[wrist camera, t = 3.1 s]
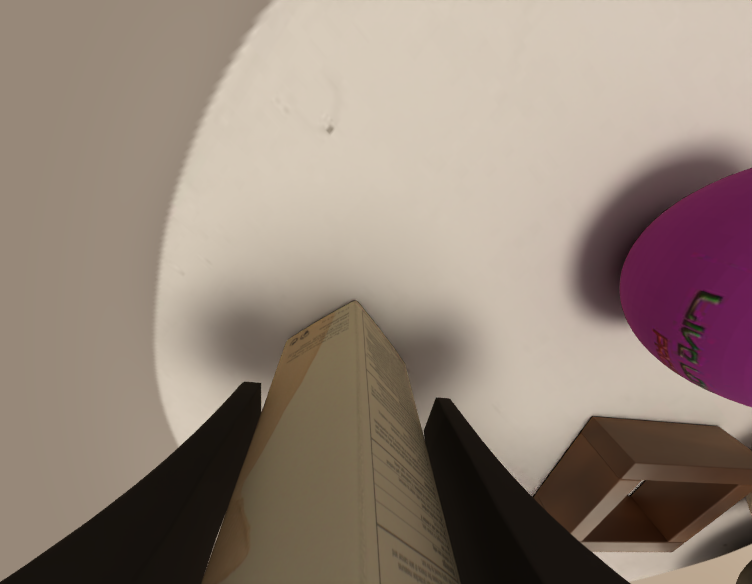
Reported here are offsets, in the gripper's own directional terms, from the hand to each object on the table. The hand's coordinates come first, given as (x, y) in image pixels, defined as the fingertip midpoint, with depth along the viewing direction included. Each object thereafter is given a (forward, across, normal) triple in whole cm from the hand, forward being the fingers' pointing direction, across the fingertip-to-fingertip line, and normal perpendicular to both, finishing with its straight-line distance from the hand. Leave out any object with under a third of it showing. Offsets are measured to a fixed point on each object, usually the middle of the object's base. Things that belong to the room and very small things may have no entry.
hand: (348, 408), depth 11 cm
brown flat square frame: (+3, -21, +8) cm, 23 cm away
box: (+4, 0, 0) cm, 4 cm away
